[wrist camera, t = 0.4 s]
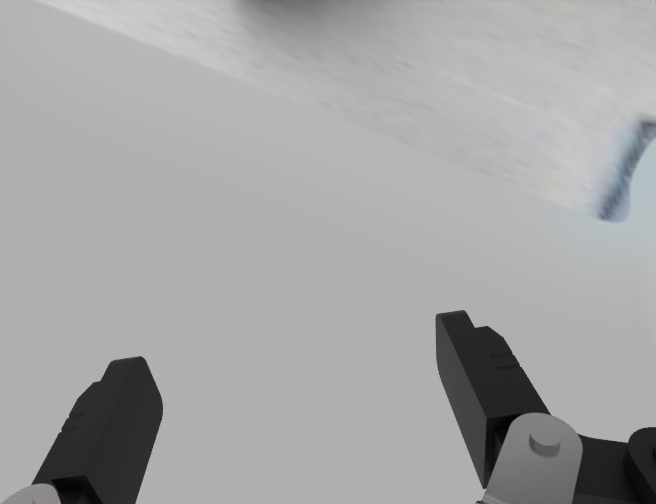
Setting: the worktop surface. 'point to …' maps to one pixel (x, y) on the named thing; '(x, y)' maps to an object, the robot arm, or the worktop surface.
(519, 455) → the robot arm
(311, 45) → the worktop surface
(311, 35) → the worktop surface
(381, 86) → the worktop surface
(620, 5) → the worktop surface
